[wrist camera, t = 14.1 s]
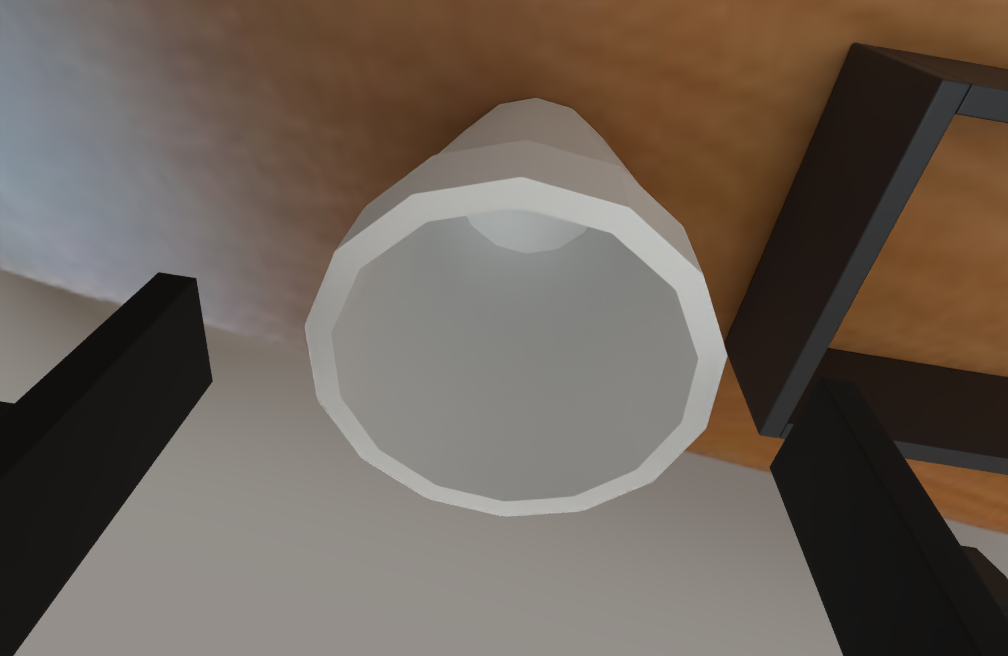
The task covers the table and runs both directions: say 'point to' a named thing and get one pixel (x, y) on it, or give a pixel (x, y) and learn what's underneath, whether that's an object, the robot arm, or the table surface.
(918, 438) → the organiser
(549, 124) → the foam cup
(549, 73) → the table surface
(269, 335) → the table surface
